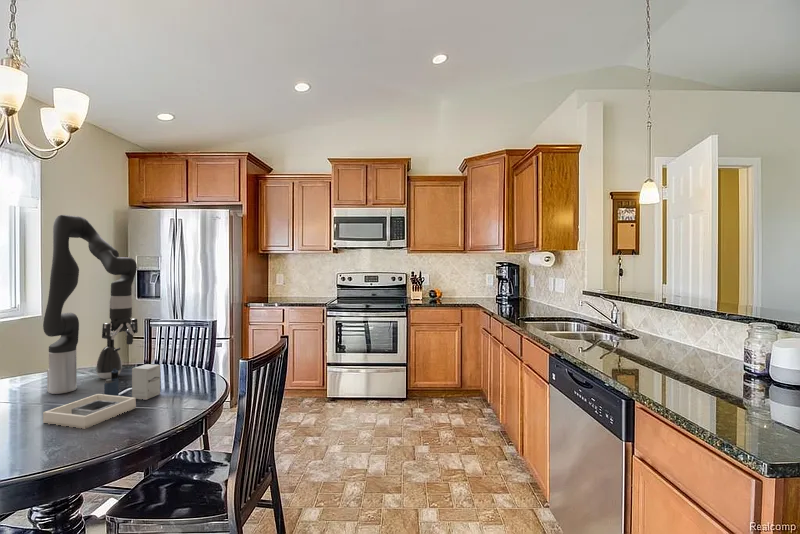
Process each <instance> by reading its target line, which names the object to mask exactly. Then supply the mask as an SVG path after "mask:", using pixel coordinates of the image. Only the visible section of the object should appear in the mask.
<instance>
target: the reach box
mask: <svg viewBox="0 0 800 534" xmlns="http://www.w3.org/2000/svg"><path fill="white" fill-rule="evenodd" d="M96 400H104V401H113V402H120V403H118V404H115V405H113V406H110V407H107V408H105V409H102V410H99V411H97V412H94V413H91V414H89V415H86V416H83V415H75V414H72V409H73V408H76V407H79V406H82V405H85V404H88V403H91V402H93V401H96ZM136 401H137V399H136V398H133V397H132V396H123V395H118V396H114V395H104V393H103V394H102V393H95V394H93V395H90V396H87V397H84V398H81V399H78V400H75V401H72V402H70V403H66V404H64V405H61V406H60V405H59V406H57V407H54V408H51V409H48V410H46V411H43V413H42V415H43V416H42V419H43V421H42V422H43V423H48V424H47V425H50V424H56V425H55V426H58V425H61V426H60V427H66V426H69V427H68V428H73V427H76V428H75V429H81V428H82V429H83V430H86V429H88V428H91V427H93V425H94V426H96V425H98V424H100V423H104V422H105V420H106V421H107V420H110V418H111V419H113V418H115V417H117V415H118V416H120V415H123V414H125V413H127V411H128V412H130V411H132V410H134V409H136V408H137V402H136ZM96 410H98V409H96ZM94 411H95V410H94ZM124 412H125V413H124ZM122 413H123V414H122ZM119 414H120V415H119ZM112 417H113V418H112Z"/></svg>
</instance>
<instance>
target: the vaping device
mask: <svg viewBox="0 0 800 534" xmlns="http://www.w3.org/2000/svg"><path fill="white" fill-rule="evenodd" d="M103 385H104V386H103V391H104V393H103V394H104V395H114V396H119V385H120V384H119V375H118V370H116V368H115V369H113V371H111V379H105V382H104V384H103Z"/></svg>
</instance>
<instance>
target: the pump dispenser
mask: <svg viewBox="0 0 800 534" xmlns="http://www.w3.org/2000/svg"><path fill="white" fill-rule="evenodd" d="M119 351H121V347H117V348H116V347H115V346H114V348H113V349H108V347H107V345H106V346H105V347H103V349H101V352H100V354H99V356H98V358H97V362H96V366H95V371H96V373H97V376H98V378H101V379H103V380H107V379H111V371H113V369H115V368H116V370H118V376H119V375H120V373H121V372H122V369H123V365H122V364H123V363H122V359H121V356H120V354H119Z"/></svg>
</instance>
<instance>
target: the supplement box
mask: <svg viewBox="0 0 800 534" xmlns="http://www.w3.org/2000/svg"><path fill="white" fill-rule="evenodd" d="M159 395H161V364H149V363H145V364H142V365H139V366H136V367H132V369H131V397H133V398H136V400H142V399H143V400H146V401H147V400H149V399H151V398H154V397H157V396H159Z"/></svg>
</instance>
